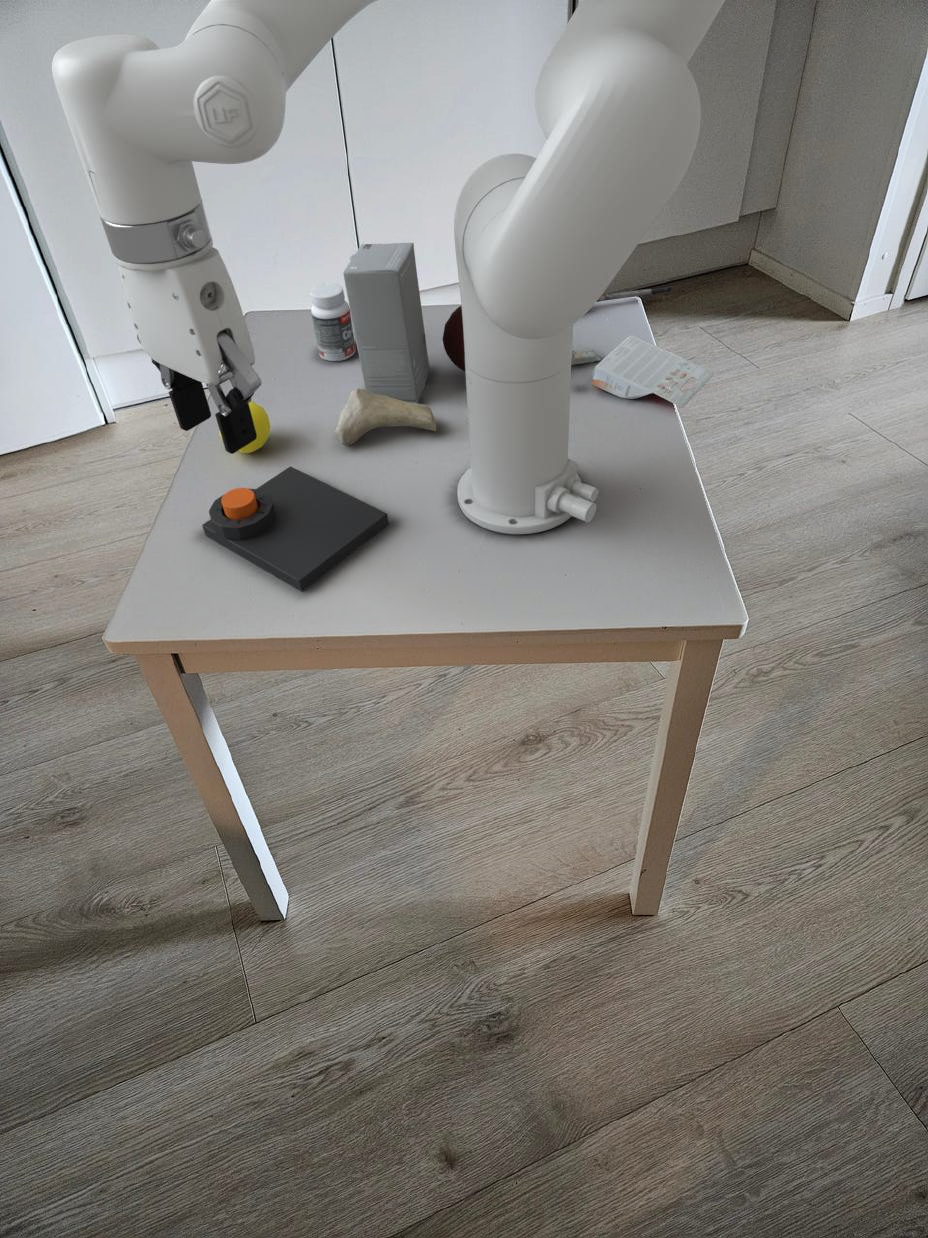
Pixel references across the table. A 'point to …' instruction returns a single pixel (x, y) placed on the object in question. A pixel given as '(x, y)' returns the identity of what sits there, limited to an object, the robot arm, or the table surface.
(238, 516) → the button
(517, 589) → the table surface
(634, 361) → the ink box
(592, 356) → the granola bar
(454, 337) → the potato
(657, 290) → the screwdriver
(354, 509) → the scale
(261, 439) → the lemon
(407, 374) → the cosmetic box
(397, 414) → the cream lumpy piece
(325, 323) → the pill bottle
